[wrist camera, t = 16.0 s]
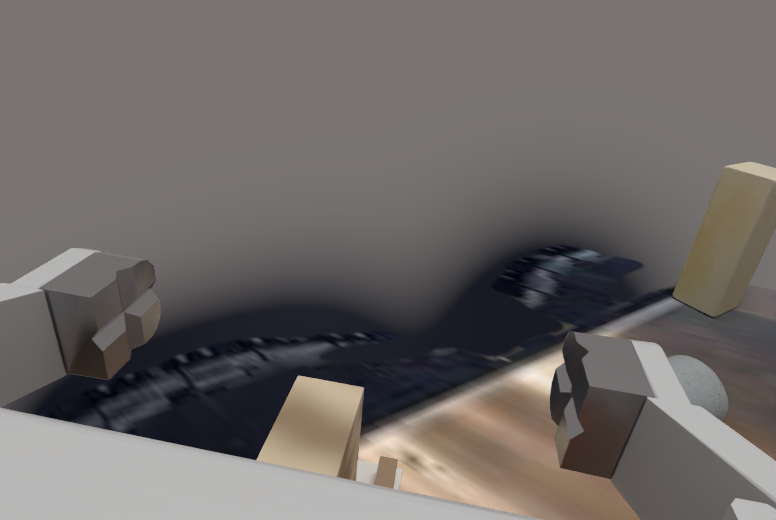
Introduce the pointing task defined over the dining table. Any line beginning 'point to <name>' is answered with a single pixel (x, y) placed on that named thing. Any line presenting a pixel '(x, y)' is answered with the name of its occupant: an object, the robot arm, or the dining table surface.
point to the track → (380, 473)
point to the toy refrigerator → (730, 239)
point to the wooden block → (317, 429)
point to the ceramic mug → (700, 385)
